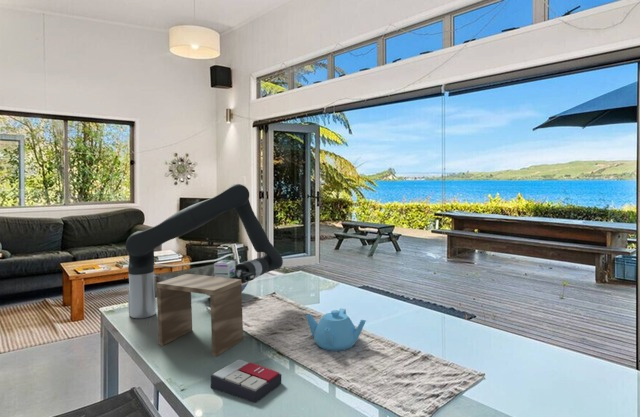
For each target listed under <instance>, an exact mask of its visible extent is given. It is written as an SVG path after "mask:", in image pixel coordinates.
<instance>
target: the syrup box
mask: <svg viewBox="0 0 640 417" xmlns="http://www.w3.org/2000/svg"><path fill="white" fill-rule="evenodd" d="M235 266H236V260H234V259H221V260H219V261H217V262H215V263H213V268H214V270H213V271H214V275H213V276H214V277H223V278H232V277H235V276H236V268H235Z"/></svg>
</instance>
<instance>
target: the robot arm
mask: <svg viewBox="0 0 640 417" xmlns="http://www.w3.org/2000/svg"><path fill="white" fill-rule="evenodd" d="M231 210H234V211H235V212H236V214H237V215H238V217H239V218H240V220H241V223H242V225H243V228H244V229H245V232H246V234H247V237H248V239H249V241H250V243H251V245H252V247H253V249H254V251H255V252H257V253H265V255H263V256H260V257H257V258H253V259H249V260H247V261H246V260H245V261H242V262H239V263H237V264H235V268H236V276H235V277H232V279H241V283H246V282H248V281H249V282H251V281H254V280H255V279H256V278H258V277H260V276H262V275H265V274H266V273H270V272H271V271H272V272H273V271H275V270H279V269H281V268H282V267H283V264H284V259H283V257H282V254H280V252H279V251H278V250H277V248H276V247H274V245H273V244H272V243H271V241H270V240H269V238H268V236H267V233H266V232H265V230H264V228H263V226H262V224H261V222H260V221H259V220H258V218H257V216H256V214H255V212H254V210H253V208H252V206H251V202H250V191H249V189H248V187H246V185H244V184H241V183H236V184H233V185H231V186H229V187H228V188H227V189H225V190H223V191H222V192H221V193H219V194H217V195H214V196H213V197H210V198H209V199H205V200H202V201H199V202H196V203H194V204H191V205H189V206H187V207H185V208H183V209H181V210H179V211H177V212H175V213H174V214H172V215H171V216H169V217H167V218H166V219H165V220H163V221H162V222H160V223H158V224H156V225H155V226H152V227H149V228H147V229H145V230H138V231H135V232H133V233H132V234H130V235H129V236H128V238H126V239H127V240H126V241H125V242H126V243H125V250H126V252H127V253H128V258H129V259H128V267H127V270H128V282H129V283H128V284H129V285H128V286H129V289H128V292H127V301H128V302H127V303H128V316H130V317H131V318H133V319H145V318H149V317H153V316H155V315H156V314H157V308H156V304H157V303H156V285H155V284H156V282H155V249H156V248H157V247H160V246H161V245H162V244H165V243H166V242H168V241H171V240H173V239H177V238H179V237H181V236H183V235H186V234H188V233H190V232H192V231H195V230H197V229H198V228H200V227H202V226H204V225H206V224H208V223H209V222H211V221H212V220H214V219H216V218H217V217H219V216H220V215H222V214H223V213H225V212H229V211H231ZM249 282H248V283H249Z"/></svg>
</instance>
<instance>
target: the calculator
mask: <svg viewBox="0 0 640 417" xmlns="http://www.w3.org/2000/svg"><path fill="white" fill-rule="evenodd" d="M281 384H282V373H280V372H279V371H276V370H273V369H270V368H267V367H264V366H261V365H259V364H256V363H253V362H248V361H245V360H242V359H239V358H238V359H237V360H234V362H231V363H230V364H228V365H226V366H225V367H223V368H220V369H219V370H218V371H216V372H214V373H213V374H211V375H210V389H213V390H216V391H219V392H222V393H223V392H224V393H226V394H229V395H230V396H231V395H232V396H234V397H237V398H239V399H242V400H244V401H245V400H246V401H248V402H251V403H253V404H254V403H255V404H256V403H258V402H259V401H260V400H261V399H263V398H264V397H266V396H267V395H269V394H270V393H271V392H272V391H274V390H275V389H277V388H278V387H279V386H281Z"/></svg>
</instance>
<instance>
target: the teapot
mask: <svg viewBox="0 0 640 417" xmlns="http://www.w3.org/2000/svg"><path fill="white" fill-rule="evenodd" d="M305 317H306V320H307V323H308V326H309V329H310V332H311V335H312V336H313V340H314V342H315V344H317V345H318V347H319V348H320V349H323V350H327V351H332V352H333V351H334V352H340V351H345V350H348V349H350V348H352V347H353V346H354V344H356V342H357V341H358V339H359V337H360V335H361V333H362V331H363V329H364V326H365V323H367V322H366V321H367V320H366V319H361V320H360V322H359V323H358V325H357V327H355V324H354V323H353V321H352V320H351V318H350V317H349V316H348V315H347V311H346V308H340V309H337V310H336V309H334V310H331V311H330V312H327V313H325V314H324V315H322V317H321V318H319V321H318V322H317V320H315V317H313V314H306V315H305Z"/></svg>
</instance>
